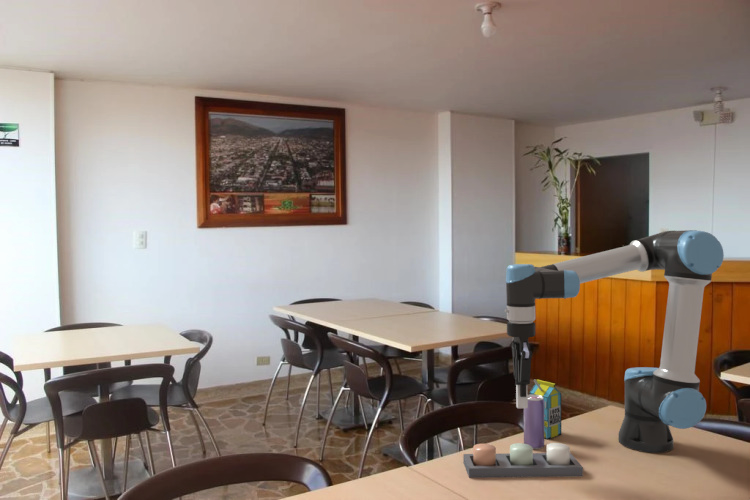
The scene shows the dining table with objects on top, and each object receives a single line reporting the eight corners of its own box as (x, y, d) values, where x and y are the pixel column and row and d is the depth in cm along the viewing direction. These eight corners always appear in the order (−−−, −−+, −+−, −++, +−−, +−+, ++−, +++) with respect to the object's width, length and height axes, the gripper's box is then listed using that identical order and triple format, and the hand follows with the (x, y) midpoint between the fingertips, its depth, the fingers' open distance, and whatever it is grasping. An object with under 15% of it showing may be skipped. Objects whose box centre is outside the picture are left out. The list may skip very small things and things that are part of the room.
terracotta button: (493, 461, 162) (493, 443, 162) (497, 470, 156) (497, 451, 156) (471, 461, 162) (471, 443, 162) (475, 470, 156) (475, 451, 156)
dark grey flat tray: (570, 461, 164) (570, 452, 164) (582, 476, 154) (582, 467, 154) (463, 462, 164) (463, 453, 164) (469, 477, 154) (469, 468, 154)
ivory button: (565, 460, 162) (565, 442, 162) (572, 469, 156) (572, 450, 156) (543, 460, 162) (543, 443, 162) (550, 469, 156) (550, 451, 156)
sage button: (529, 461, 162) (529, 443, 162) (535, 469, 156) (535, 451, 156) (507, 461, 162) (507, 443, 162) (512, 470, 156) (512, 451, 156)
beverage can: (545, 450, 173) (544, 400, 172) (524, 449, 174) (524, 399, 173) (543, 443, 179) (543, 394, 178) (523, 442, 180) (523, 393, 179)
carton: (527, 434, 187) (526, 377, 186) (542, 429, 191) (542, 374, 191) (546, 440, 181) (546, 382, 180) (561, 435, 186) (561, 378, 185)
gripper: (501, 318, 165) (502, 400, 166) (512, 325, 152) (514, 415, 153) (528, 317, 165) (529, 400, 166) (541, 324, 152) (542, 414, 153)
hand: (522, 407), depth 159 cm, fingers closed
